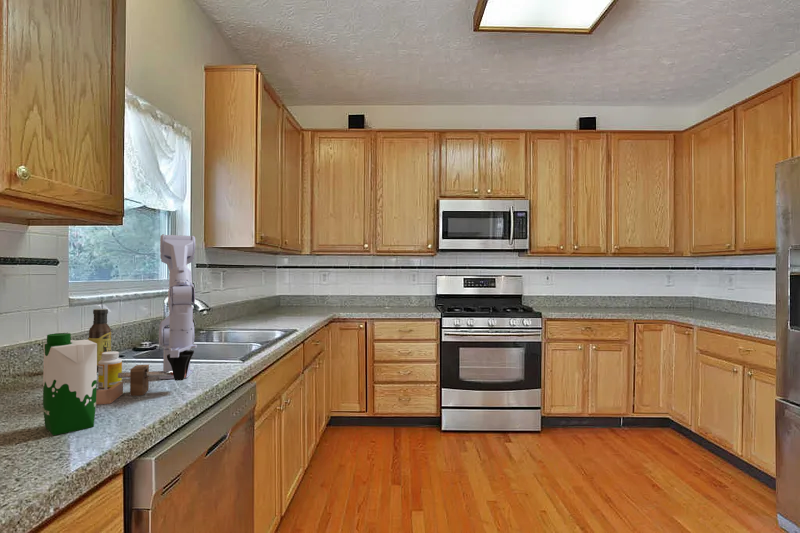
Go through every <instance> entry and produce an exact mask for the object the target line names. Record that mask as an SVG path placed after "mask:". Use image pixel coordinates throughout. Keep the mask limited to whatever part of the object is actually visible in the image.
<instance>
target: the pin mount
mask: <svg viewBox="0 0 800 533" xmlns="http://www.w3.org/2000/svg"><path fill="white" fill-rule="evenodd" d="M149 368H150V364H136V365H135V366H133V367H132V368H130V370H129V371H130V378H129V379H130V380H129V381H130V382H129V383H130V384H129V397H136V396H137V397H138V396H139V397H140V396H141V397H142V396H144V395H145V394H146V393H147V392H148V391H149V390H150V388H149V383H150V382H149V380H150V377H145V372H150V369H149Z"/></svg>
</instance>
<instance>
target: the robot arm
mask: <svg viewBox="0 0 800 533" xmlns="http://www.w3.org/2000/svg"><path fill="white" fill-rule="evenodd" d="M159 237H160V239H159V241H160V243H159V244H160V245H159V250H160V251H159V252H160V253H159V254H160V259H161V260H160V261H161V262H162V263H163V264H166V265H167V269H168V271H169V273H168V274H169V276H168V278H169V283H168V284H169V288H168V292H167V302H168V307H169V308H168V310H169V311H168V312H169V314H168V316H167V317H166V318H164V319H162V320H161V321H160V323H159V329H158V345H159V347H160V348H163V359H162V360H163V368H162V369H163V370H162V371H173V375H174V376H159V377H158V379H159V380H169V379H174V381H175V382H177V381H184V380H185V379H187V378H189V377H190V375H192V373H193V372H194V370H193V369H191V359H192V358H193V355H194V353H195V351H194V350H191V349H196V348H197V347H198V345H197V344H195V327H194V326H195V324H194V321H193V320H194V306H195V302H196V290H195V285H194V283H193V281H192V280H193V279H192V271H191V270H190V268H188V267H187V265H188V264H192V263H193V261H194V258H195V254H196V236H194V235H181V234H180V235H177V234H165V233H163V234H161V235H160V236H159ZM185 370H186V377H185V378H184V376H185Z"/></svg>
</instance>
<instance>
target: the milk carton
mask: <svg viewBox="0 0 800 533" xmlns="http://www.w3.org/2000/svg"><path fill="white" fill-rule="evenodd" d="M71 335H72V334H71V333H70V332H60V333H59V332H58V333H57V332H56V333H48V334H46V342H44V343H43V368H42V369H43V371H42V372H43V376H42V377H43V379H42V380H43V381H42V384H43V387H42V410H43V420H44V427H45V428H46V430H47V431H48V432H49V433H50V434H51V435H52V436H57V435H62V434H66V433H72V432H76V431H80V430H81V431H82V430H85V429H91V428H94V427H95V426H94V425H95V417H96V408H97V404H96V390H98V375H97V374H98V371H97V343H94V342H92V341H89V340H88V339H77V340H74V339H72V338H71V337H72V336H71Z"/></svg>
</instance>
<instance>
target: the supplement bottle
mask: <svg viewBox="0 0 800 533" xmlns="http://www.w3.org/2000/svg"><path fill="white" fill-rule="evenodd" d="M119 354H120V353H119V351H112V350H111V351H110V352H104V353H102V360H100V361H99V362H98V371H97V374H98V375H97V390H108V389H109V388H111V387H112V386H113V385H115V384H116V383H118V382H123V378H118V373H123V360H122V358H120V355H119Z"/></svg>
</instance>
